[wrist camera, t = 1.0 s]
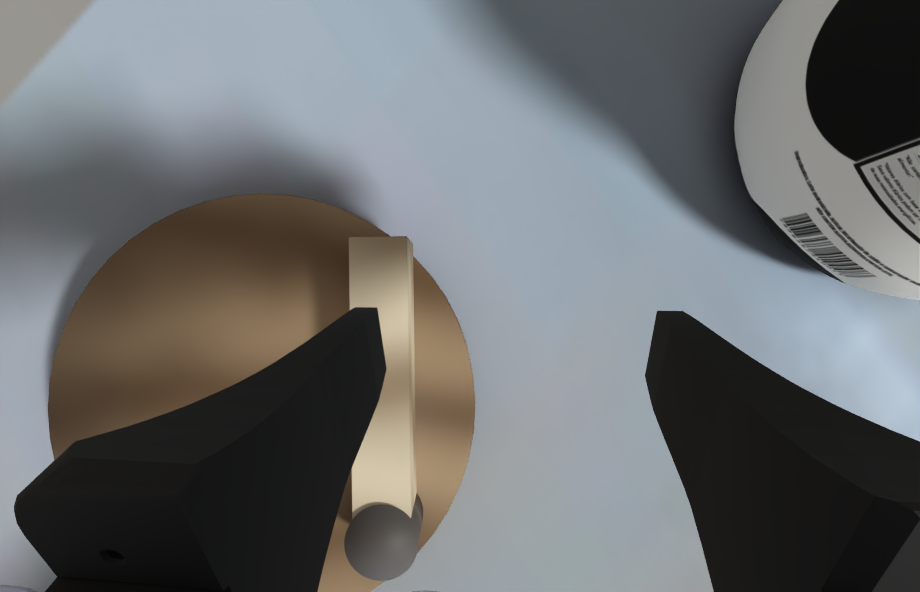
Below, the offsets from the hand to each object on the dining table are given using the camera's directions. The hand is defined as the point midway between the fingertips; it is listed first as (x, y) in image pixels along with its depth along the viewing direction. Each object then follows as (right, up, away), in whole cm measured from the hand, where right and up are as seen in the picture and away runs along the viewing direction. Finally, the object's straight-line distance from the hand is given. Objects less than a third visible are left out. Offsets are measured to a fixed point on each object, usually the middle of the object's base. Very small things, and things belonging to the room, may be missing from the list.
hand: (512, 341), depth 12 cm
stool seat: (-11, -4, +12) cm, 17 cm away
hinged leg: (-5, -3, +10) cm, 11 cm away
